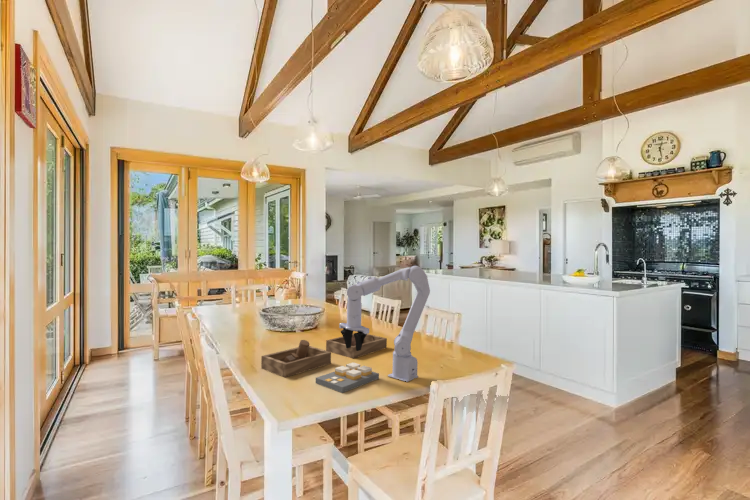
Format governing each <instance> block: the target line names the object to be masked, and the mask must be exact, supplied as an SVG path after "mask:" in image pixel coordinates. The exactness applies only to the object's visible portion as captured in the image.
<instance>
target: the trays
mask: <svg viewBox="0 0 750 500" xmlns="http://www.w3.org/2000/svg"><path fill="white" fill-rule="evenodd" d="M372 336H373V337H374V339H375V340H374V341H373V337H372ZM352 337H354V333H353V335H352ZM354 338H355V337H354ZM387 340H388V339H387V337H383V336H378V335H374V334H370V333H369V334H367V335H366V337H365V339H364V341H363V342H364V344H362V347H361V350H359V351H356V346H351V347H350V348H346V344H343V342H344V338H343V335H342V336H338V337H335V338H331V339H327V340H326V341H325V342H326V343H325V344H326V346H325V349H322V348H318V347H314V346H310V345H309V348H308V351H307V354H306V357H305V358H302V359H299V360H295V361H291V362H288V363H285V362H284V361H285V358H286V357H287V356H290V355H291V354H292V353H295V354H296V353H297V350H298V347H299V346H297V347H294V348H289V349H285V350H281V351H277V352H273V353H269V354H265V355H264V354H263V355H261V362H260V363H261V369H262V370H265V371H267V372H271V373H273V374H276V375H278V376H280V377H284V378H287V377H291V376H295V375H298V374H300V373H304V372H308V371H310V370H311V371H312V370H314V369H316V368H321V367H324V366H327V365H331V364H332V353H333V354H336V355H340V356H343V357H348V358H350V359H356V358H360V357H362V356H363V357H364V356H366V355H369V354H372V353H375V352H378V351H379V352H380V351H382V349H383V350H385V349H384V348H386V349H387V345H388V344H387V343H388V341H387Z"/></svg>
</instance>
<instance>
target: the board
mask: <svg viewBox="0 0 750 500" xmlns="http://www.w3.org/2000/svg"><path fill="white" fill-rule="evenodd" d="M379 375H380V374H379V373H378V372H376V371H372V374H370V375H367V376H362V375H361V378H359V379H357V380H351V379H348V378H346V376H343V377H342V376H339V375H336V374H335V371H332V372H329V373H326V374H322V375H319V376H317V377H315V384H317V385H319V386H322V387H325V388H328V389H331V390H334V391H335V392H338V393H341V394H343V393H346V392H348V391H351V390H353V389H355V388H359V387H361V386H364V385H366V384H368V383H372V382H373V381H376V380H379V378H380V376H379Z"/></svg>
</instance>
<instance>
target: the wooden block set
mask: <svg viewBox="0 0 750 500" xmlns="http://www.w3.org/2000/svg"><path fill="white" fill-rule="evenodd" d="M309 346H310V342H309V341H308V340H306V339H301V340H300V341H299V344H298V346H297V347H298V350H297V353H296V354H295V353H292V354H291V355H290V356H287V357H286V358H285V361H284V362H285V363H288V362H291V361H295V360H299V359H302V358H305V357H306V354H307V351H308V348H309Z"/></svg>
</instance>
